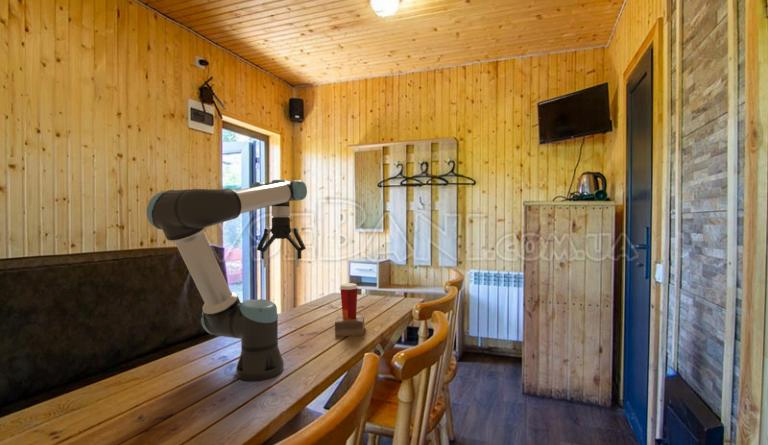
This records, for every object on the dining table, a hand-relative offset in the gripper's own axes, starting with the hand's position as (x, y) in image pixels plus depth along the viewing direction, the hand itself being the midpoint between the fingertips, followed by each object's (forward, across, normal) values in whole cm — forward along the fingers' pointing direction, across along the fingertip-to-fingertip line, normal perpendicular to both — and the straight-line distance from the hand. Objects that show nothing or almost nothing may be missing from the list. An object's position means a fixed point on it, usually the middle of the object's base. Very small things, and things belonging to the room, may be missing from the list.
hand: (281, 267), depth 154 cm
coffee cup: (+25, -27, -11) cm, 38 cm away
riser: (+31, -27, -11) cm, 43 cm away
